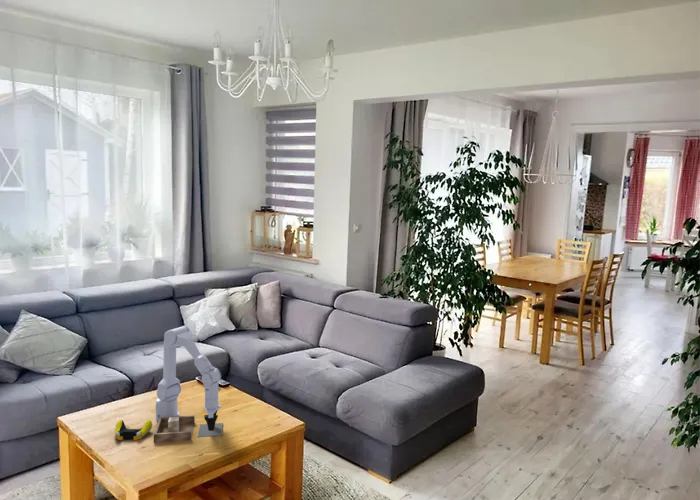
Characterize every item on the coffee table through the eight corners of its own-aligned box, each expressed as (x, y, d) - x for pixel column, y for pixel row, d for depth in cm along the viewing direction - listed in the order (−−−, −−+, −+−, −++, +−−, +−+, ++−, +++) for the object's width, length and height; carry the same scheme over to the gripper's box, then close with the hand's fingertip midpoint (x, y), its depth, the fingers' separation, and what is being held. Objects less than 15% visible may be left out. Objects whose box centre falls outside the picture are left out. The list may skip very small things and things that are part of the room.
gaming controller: (118, 430, 230) (109, 441, 220) (117, 418, 229) (109, 429, 220) (153, 430, 231) (146, 441, 221) (153, 418, 230) (145, 429, 221)
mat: (197, 438, 225) (197, 437, 225) (200, 425, 237) (200, 424, 237) (221, 436, 227) (221, 435, 227) (222, 424, 239) (222, 423, 239)
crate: (153, 443, 220) (153, 434, 219) (159, 425, 235) (159, 417, 235) (191, 441, 223) (191, 432, 222) (194, 423, 238) (194, 415, 238)
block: (168, 434, 226) (168, 421, 226) (169, 430, 230) (169, 417, 229) (178, 434, 227) (177, 420, 226) (179, 429, 231) (178, 416, 230)
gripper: (220, 403, 224) (220, 433, 225) (221, 389, 238) (221, 418, 240) (203, 404, 222) (203, 434, 224) (205, 390, 236) (205, 419, 238)
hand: (211, 426), depth 232 cm, fingers open, 7 cm apart
